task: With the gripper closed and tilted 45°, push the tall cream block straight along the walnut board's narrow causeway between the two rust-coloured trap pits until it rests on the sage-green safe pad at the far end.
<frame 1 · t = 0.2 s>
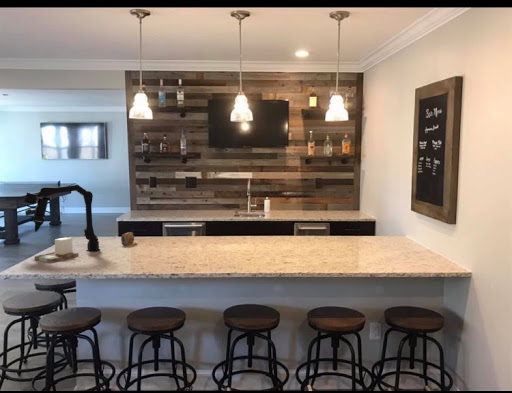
hand: (35, 230, 275), 15 cm above the worktop, tool pointing down, fingers open, 9 cm apart
safe pad: (47, 260, 263), on the worktop
cream block: (63, 252, 273), point 2 cm above the worktop, touching trap board
tin: (127, 244, 311), on the worktop
trap board: (56, 257, 269), on the worktop
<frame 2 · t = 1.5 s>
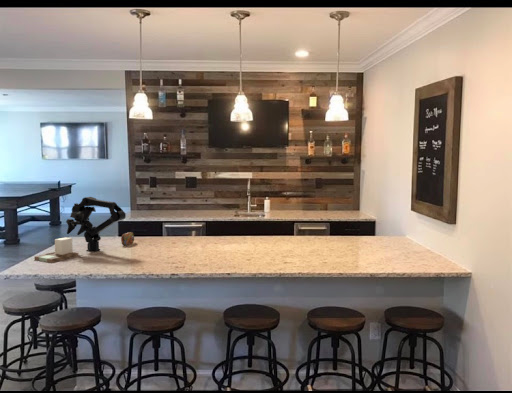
hand: (72, 234, 279), 13 cm above the worktop, tool tilted 45°, fingers open, 9 cm apart
nothing on the worktop moved.
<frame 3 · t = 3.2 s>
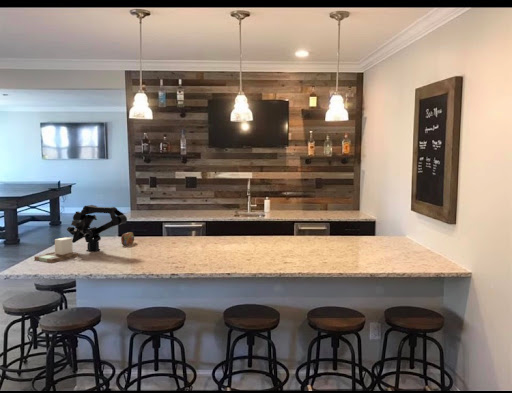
hand: (72, 242, 279), 7 cm above the worktop, tool tilted 45°, fingers closed
nothing on the worktop moved.
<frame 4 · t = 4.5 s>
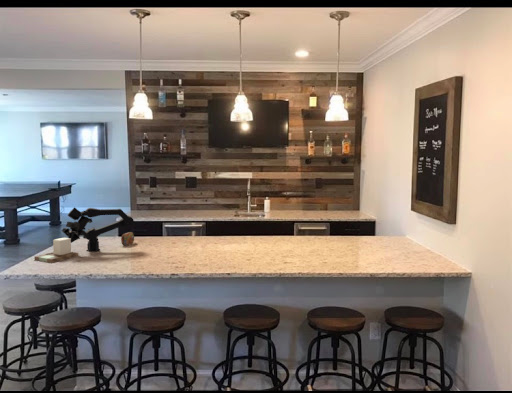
hand: (67, 244, 276), 7 cm above the worktop, tool tilted 45°, fingers closed, pressing on cream block
cream block: (62, 253, 272), point 2 cm above the worktop, touching gripper
everything else where it was.
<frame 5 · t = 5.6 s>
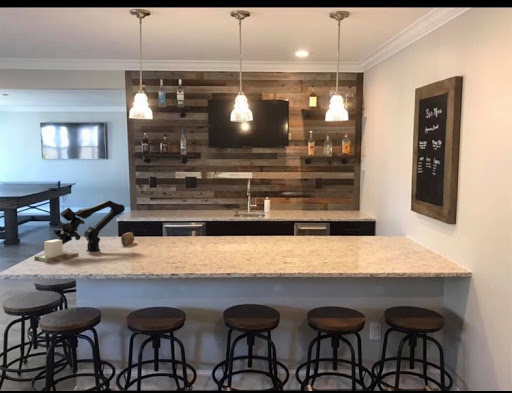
hand: (59, 245, 270), 7 cm above the worktop, tool tilted 45°, fingers closed, pressing on cream block
cream block: (53, 255, 266), point 2 cm above the worktop, touching gripper, trap board
everything else where it was.
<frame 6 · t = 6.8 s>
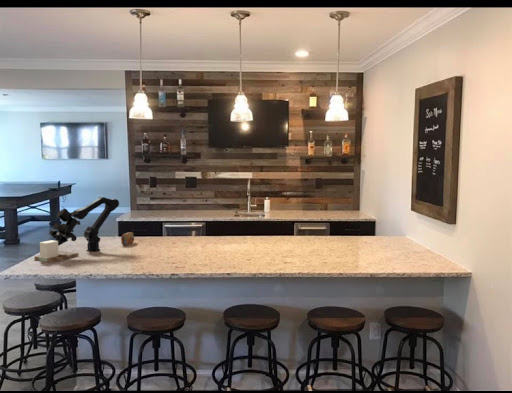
hand: (55, 246, 267), 7 cm above the worktop, tool tilted 45°, fingers closed, pressing on cream block
cream block: (49, 256, 264), point 2 cm above the worktop, touching gripper, safe pad, trap board
everything else where it was.
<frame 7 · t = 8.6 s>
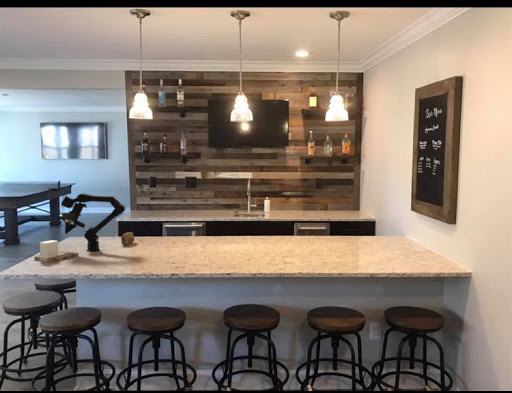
hand: (65, 233, 282), 12 cm above the worktop, tool tilted 25°, fingers closed
cream block: (49, 256, 264), point 2 cm above the worktop, touching safe pad, trap board
everything else where it was.
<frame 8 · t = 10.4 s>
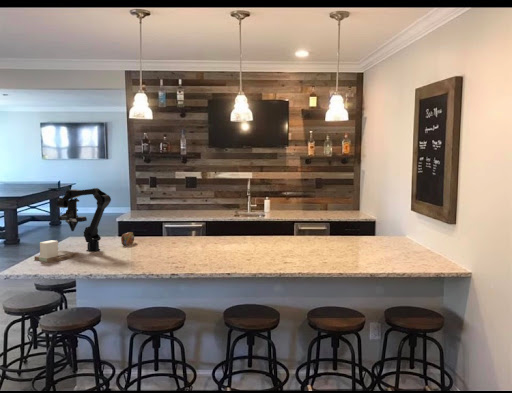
hand: (72, 231, 293), 12 cm above the worktop, tool pointing down, fingers closed
nothing on the worktop moved.
at the end: cream block 1.3 cm from the safe pad (horizontally); cream block point 2.0 cm above the worktop; cream block tilted 0° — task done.
